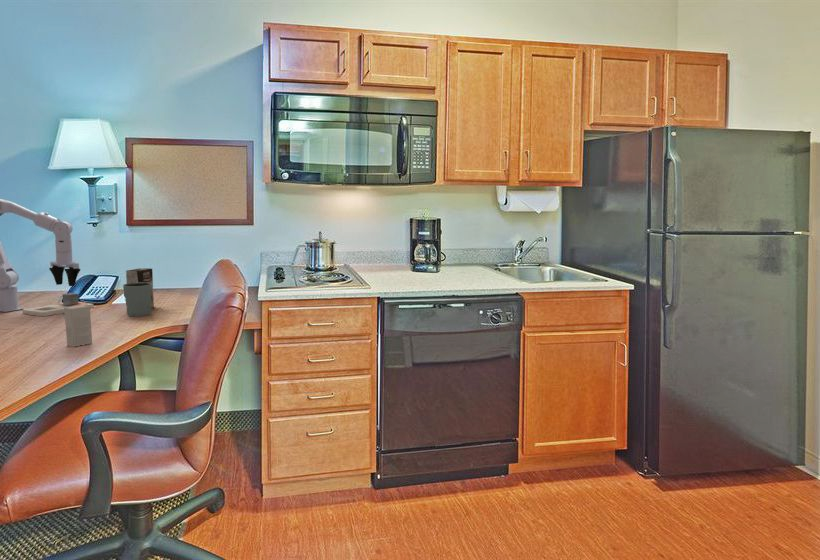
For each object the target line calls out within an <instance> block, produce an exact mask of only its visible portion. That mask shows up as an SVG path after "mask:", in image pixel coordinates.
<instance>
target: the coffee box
mask: <svg viewBox="0 0 820 560" xmlns="http://www.w3.org/2000/svg"><path fill="white" fill-rule="evenodd" d="M125 272H126V273H125V274H126V276H125V278H126V284H128V283H137V282H147V283H151V284H152V289H151V309H152V308H154V307H155V305H154V301H155V300H154V281H153V280H154V279H153V277H154V276H153V268H143V267H142V268H140V267H139V268H133V269H128V270H126V271H125Z"/></svg>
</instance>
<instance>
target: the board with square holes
mask: <svg viewBox="0 0 820 560" xmlns="http://www.w3.org/2000/svg"><path fill="white" fill-rule="evenodd" d="M79 305H85V306H90V309H93V308H94V303H89V302H85V301H79ZM79 305H73V306H79ZM66 307H72V306H63V302H59V303H55V304H51V305H44V306H38V307H32V308H24V309H21V310H22V311H21V312H22V314H23V315H31V316H37V317H47V316H54V315H58V314H59V315H60V314H65V311H64V308H66Z"/></svg>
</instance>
